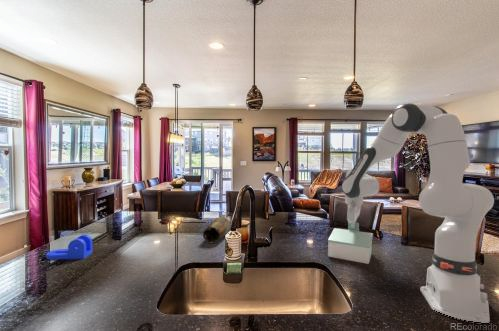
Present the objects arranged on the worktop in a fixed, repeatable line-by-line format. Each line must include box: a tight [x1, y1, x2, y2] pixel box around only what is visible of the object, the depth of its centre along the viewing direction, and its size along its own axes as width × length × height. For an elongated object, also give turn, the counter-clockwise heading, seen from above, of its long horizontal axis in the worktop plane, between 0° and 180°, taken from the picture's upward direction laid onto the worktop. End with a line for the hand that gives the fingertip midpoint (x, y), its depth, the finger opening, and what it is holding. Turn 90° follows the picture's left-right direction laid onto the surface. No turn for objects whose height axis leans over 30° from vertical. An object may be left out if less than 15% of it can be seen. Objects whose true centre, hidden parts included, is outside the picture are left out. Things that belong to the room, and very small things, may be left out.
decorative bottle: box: [202, 213, 234, 244], centre depth 168 cm, size 11×11×45 cm
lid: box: [327, 221, 374, 248], centre depth 133 cm, size 18×19×5 cm
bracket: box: [45, 234, 94, 261], centre depth 128 cm, size 18×8×9 cm, turn 96°
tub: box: [327, 240, 373, 265], centre depth 132 cm, size 14×18×7 cm
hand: (353, 226), depth 140 cm, fingers closed on lid
